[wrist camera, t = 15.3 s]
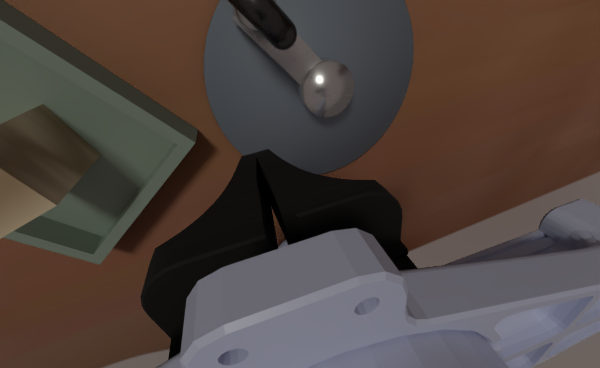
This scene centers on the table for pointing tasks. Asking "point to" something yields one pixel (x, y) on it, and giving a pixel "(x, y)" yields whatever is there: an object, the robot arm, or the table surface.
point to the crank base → (282, 87)
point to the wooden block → (38, 165)
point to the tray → (88, 137)
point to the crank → (296, 56)
